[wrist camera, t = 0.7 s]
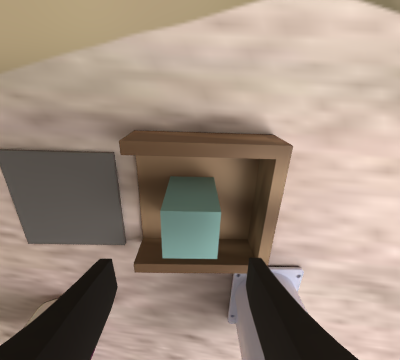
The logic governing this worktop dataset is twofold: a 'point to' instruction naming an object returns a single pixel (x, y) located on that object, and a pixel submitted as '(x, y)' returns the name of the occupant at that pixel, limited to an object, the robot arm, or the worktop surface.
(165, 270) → the walnut box
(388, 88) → the worktop surface
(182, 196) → the block
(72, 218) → the slate mat
